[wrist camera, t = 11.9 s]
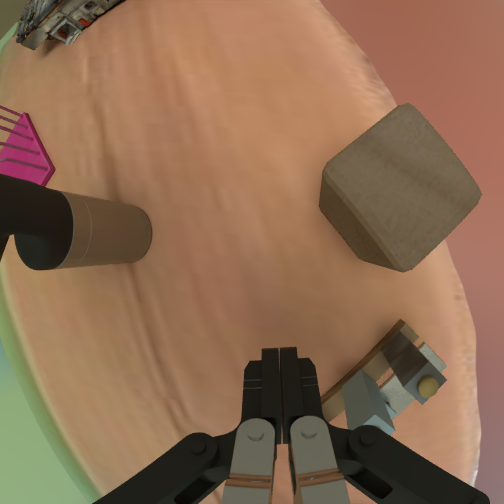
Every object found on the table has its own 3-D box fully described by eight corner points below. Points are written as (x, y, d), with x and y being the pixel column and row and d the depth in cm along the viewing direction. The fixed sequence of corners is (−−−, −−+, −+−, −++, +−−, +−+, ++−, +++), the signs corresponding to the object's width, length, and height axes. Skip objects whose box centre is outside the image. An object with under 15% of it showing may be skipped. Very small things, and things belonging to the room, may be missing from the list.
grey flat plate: (375, 430, 38) (376, 433, 37) (351, 412, 39) (351, 415, 38) (445, 364, 36) (447, 366, 35) (423, 342, 36) (425, 343, 36)
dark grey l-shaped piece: (334, 449, 39) (335, 517, 24) (292, 419, 40) (279, 486, 25) (437, 356, 36) (484, 402, 21) (399, 318, 37) (441, 355, 22)
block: (362, 263, 38) (406, 279, 19) (315, 205, 39) (317, 167, 20) (414, 217, 37) (489, 195, 17) (369, 161, 38) (409, 94, 18)
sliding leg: (382, 416, 36) (402, 477, 22) (341, 382, 38) (349, 442, 23) (399, 400, 36) (427, 458, 22) (359, 365, 37) (377, 420, 23)
